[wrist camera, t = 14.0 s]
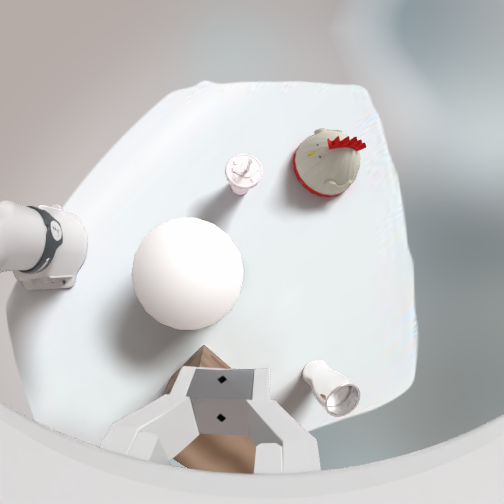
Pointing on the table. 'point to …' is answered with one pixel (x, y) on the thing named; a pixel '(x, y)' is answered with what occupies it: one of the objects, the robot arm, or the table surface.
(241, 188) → the smoothie
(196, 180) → the table surface
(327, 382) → the white hollow cylinder
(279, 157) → the table surface
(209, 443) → the box
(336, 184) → the kitchen timer
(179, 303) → the milk container
